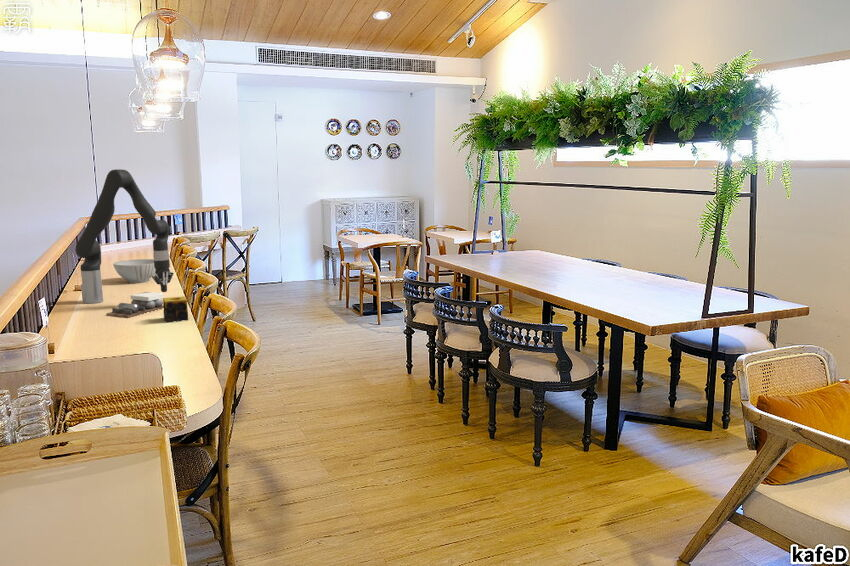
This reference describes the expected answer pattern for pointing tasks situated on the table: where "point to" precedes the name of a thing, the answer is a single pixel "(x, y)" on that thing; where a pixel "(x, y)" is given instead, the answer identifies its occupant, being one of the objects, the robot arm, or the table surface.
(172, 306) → the black and yellow cube
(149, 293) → the slab
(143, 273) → the decorative bowl
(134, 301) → the roller bed
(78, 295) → the table surface
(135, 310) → the roller
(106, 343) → the table surface
